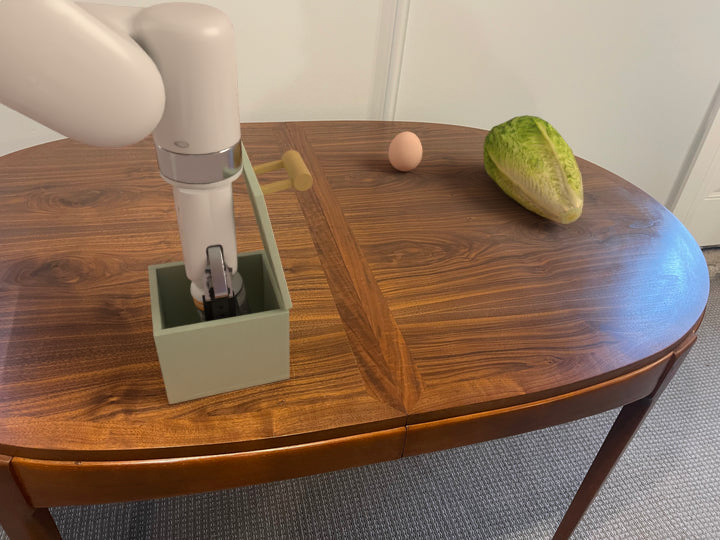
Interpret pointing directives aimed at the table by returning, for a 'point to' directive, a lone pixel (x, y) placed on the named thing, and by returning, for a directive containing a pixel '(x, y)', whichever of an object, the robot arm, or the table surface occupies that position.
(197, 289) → the pill bottle
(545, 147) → the lettuce
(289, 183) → the lid
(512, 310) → the table surface
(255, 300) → the chest
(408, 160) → the egg
